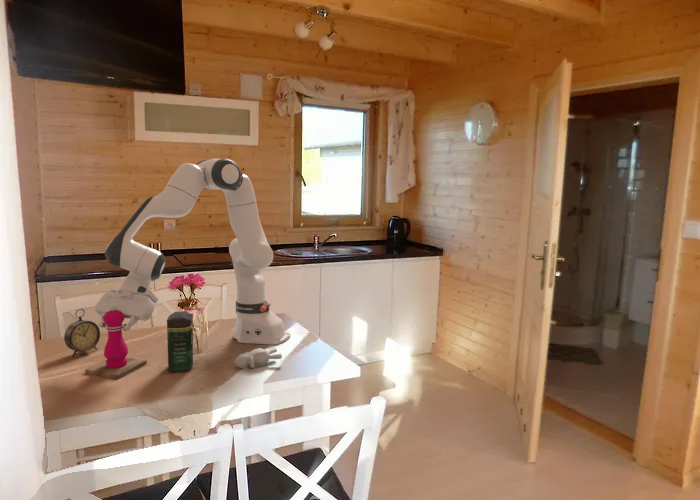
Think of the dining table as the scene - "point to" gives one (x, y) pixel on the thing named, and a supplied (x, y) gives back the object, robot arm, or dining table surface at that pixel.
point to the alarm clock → (82, 335)
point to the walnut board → (116, 372)
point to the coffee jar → (180, 341)
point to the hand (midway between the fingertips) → (113, 328)
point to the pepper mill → (115, 339)
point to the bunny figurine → (256, 358)
